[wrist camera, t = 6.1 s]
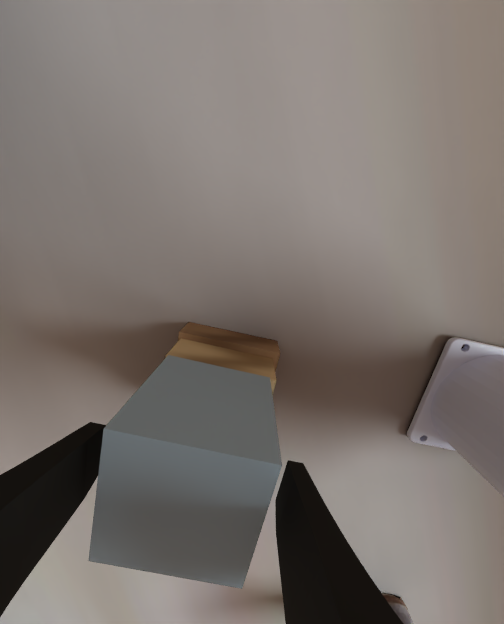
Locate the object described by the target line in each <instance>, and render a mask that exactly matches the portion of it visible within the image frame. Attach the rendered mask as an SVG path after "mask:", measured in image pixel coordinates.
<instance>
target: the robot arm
mask: <svg viewBox="0 0 504 624" xmlns="http://www.w3.org/2000/svg"><path fill="white" fill-rule="evenodd" d="M463 345H464V347H463V348H462V349H461V347H462V346H463ZM105 427H106V425H102V424H97V423H92V422H90V423H88V424H86V425H85V426H83V427H81V428H80V429H78V430H76V431H75V432H73V433H71V434H70V435H68V436H66V437H65V438H63V439H61V440H60V441H58V442H56V443H55V444H53V445H51V446H50V447H48V448H46V449H45V450H43V451H41V452H40V453H38V454H36V455H35V456H33V457H31V458H29V459H28V460H26V461H24V462H23V463H21V464H19V465H17V466H16V467H14V468H12V469H10V470H9V471H7V472H5V473H3V474H1V475H0V617H1V615H2V614H3V612H4V610H5V609H6V607H7V606H8V604H9V603H10V601H11V600H12V598H13V597H14V595H15V594H16V592H17V591H18V590H19V588H20V587H21V585H22V584H23V582H24V581H25V580H26V578H27V577H28V575H29V574H30V573H31V571H32V570H33V569H34V567H35V566H36V564H37V563H38V562H39V560H40V559H41V558H42V556H43V555H44V553H45V552H46V551H47V549H48V548H49V547H50V545H51V544H52V542H53V541H54V540H55V538H56V537H57V536H58V534H59V533H60V531H61V530H62V529H63V527H64V526H65V525H66V523H67V522H68V520H69V519H70V518H71V516H72V515H73V514H74V512H75V511H76V509H77V508H78V507H79V505H80V504H81V502H82V501H83V500H84V498H85V496H86V495H87V493H88V491H89V490H90V488H91V486H92V485H93V483H94V481H95V480H96V478H97V476H98V474H99V465H100V456H101V448H102V439H103V430H104V428H105ZM421 436H422V437H421ZM407 437H408V438H409V439H410V440H411V441H412V442H415V443H420V444H425V445H430V446H435V447H440V448H445V449H450V450H455V451H457V452H458V453H459V454H460V455H461V456H462V457H463V458H464V459H465V460H466V461H467V462H468V463H469V464H470V465H471V466H472V467H473V468H474V469H475V470H476V471H477V472H479V473H480V474H481V475H482V476H483V477H484V478H485V479H486V480H487V481H488V482H489V483H490V484H491V485H492V486H493V487H494V488H495V489H496V490H497V491H498V492H499V493H500V494H501V495H502V496H503V497H504V348H503V347H499V346H494V345H490V344H485V343H481V342H476V341H472V340H467V339H463V338H458V337H453V338H450V339H449V340H448V341H447V343H446V345H445V347H444V349H443V352H442V354H441V356H440V358H439V361H438V363H437V365H436V368H435V370H434V372H433V374H432V377H431V379H430V381H429V384H428V386H427V388H426V390H425V393H424V395H423V397H422V399H421V402H420V404H419V406H418V409H417V411H416V413H415V415H414V418H413V420H412V422H411V425H410V427H409V429H408V431H407ZM276 537H277V547H278V556H279V566H280V575H281V584H282V593H283V602H284V611H285V620H286V624H403V622H402V621H401V619H400V618H399V617H398V615H397V614H396V613H395V611H394V610H393V609H392V607H391V606H390V605H389V603H388V602H387V600H386V599H385V597H384V596H383V595H382V593H381V592H380V590H379V589H378V588H377V586H376V585H375V583H374V582H373V581H372V579H371V578H370V576H369V575H368V573H367V572H366V570H365V569H364V567H363V566H362V564H361V563H360V561H359V559H358V558H357V556H356V555H355V553H354V552H353V550H352V548H351V547H350V545H349V544H348V542H347V540H346V539H345V537H344V535H343V534H342V532H341V531H340V529H339V527H338V525H337V524H336V522H335V520H334V519H333V517H332V515H331V513H330V512H329V510H328V508H327V506H326V505H325V503H324V501H323V499H322V497H321V496H320V494H319V492H318V490H317V488H316V486H315V485H314V483H313V481H312V479H311V477H310V475H309V473H308V471H307V470H306V468H305V466H304V464H303V463H299V462H293V461H288V462H287V465H286V468H285V472H284V475H283V478H282V481H281V484H280V488H279V491H278V494H277V497H276Z"/></svg>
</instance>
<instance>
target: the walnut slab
mask: <svg viewBox="0 0 504 624" xmlns="http://www.w3.org/2000/svg"><path fill="white" fill-rule="evenodd" d="M180 339H186V340H190V341H195V342H199V343H204V344H209V345H213V346H218V347H222V348H227V349H231V350H236V351H240V352H245V353H249V354H254V355H258V356H263V357H267V358H272V359H273V363H274V369H275V371H276V368H277V364H278V360H279V356H280V350H279V346H278V342H277V341H275V340H271V339H266V338H261V337H256V336H252V335H247V334H242V333H238V332H233V331H228V330H224V329H219V328H214V327H210V326H205V325H200V324H196V323H191V322H188V323H187V324H186V325H185V326H184V327H183V328H182V329H181V330H180V331H179V336H178V341H179V340H180Z"/></svg>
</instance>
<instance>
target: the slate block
mask: <svg viewBox="0 0 504 624" xmlns="http://www.w3.org/2000/svg"><path fill="white" fill-rule="evenodd" d="M281 467H282V462H281V455H280V448H279V440H278V433H277V426H276V418H275V411H274V403H273V396H272V389H271V381H270V377H265V376H261V375H256V374H252V373H247V372H243V371H238V370H234V369H229V368H225V367H220V366H216V365H211V364H207V363H202V362H198V361H193V360H189V359H184V358H180V357H175V356H171V355H168V356H167V357H166V358H165V359H164V360H163V362H162V363H161V364H160V365H159V366H158V367H157V368H156V370H155V371H154V372H153V373H152V374H151V375H150V376H149V378H148V379H147V380H146V381H145V382H144V383H143V384H142V385H141V387H140V388H139V389H138V390H137V391H136V392H135V393H134V395H133V396H132V397H131V398H130V399H129V400H128V401H127V403H126V404H125V405H124V406H123V407H122V408H121V409H120V411H119V412H118V413H117V414H116V415H115V416H114V417H113V419H112V420H111V421H110V422H109V423H108V424H107V425H106V427H105V428H104V430H103V439H102V448H101V456H100V465H99V474H98V482H97V491H96V500H95V509H94V517H93V526H92V535H91V544H90V552H89V561H92V562H97V563H103V564H108V565H114V566H119V567H125V568H130V569H136V570H141V571H147V572H153V573H158V574H164V575H169V576H175V577H180V578H186V579H191V580H197V581H202V582H208V583H214V584H219V585H225V586H230V587H236V588H241V589H242V587H243V584H244V581H245V578H246V575H247V572H248V569H249V566H250V562H251V559H252V556H253V553H254V550H255V547H256V544H257V541H258V538H259V535H260V532H261V528H262V525H263V522H264V519H265V516H266V513H267V510H268V507H269V504H270V501H271V498H272V494H273V491H274V488H275V485H276V482H277V479H278V476H279V473H280V470H281Z"/></svg>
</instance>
